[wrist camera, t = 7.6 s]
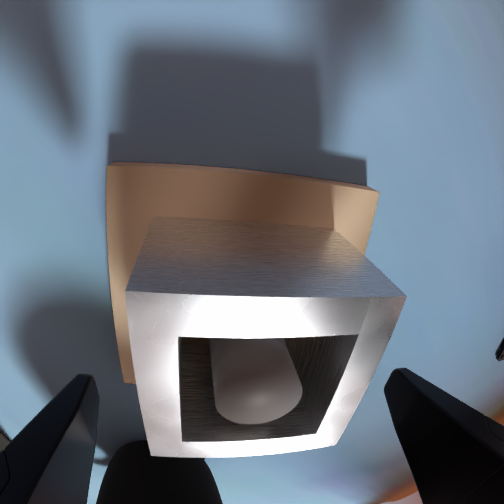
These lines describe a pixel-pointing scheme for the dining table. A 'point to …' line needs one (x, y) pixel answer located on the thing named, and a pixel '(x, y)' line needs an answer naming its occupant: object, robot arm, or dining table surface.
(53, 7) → the dining table surface
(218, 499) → the mug
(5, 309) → the dining table surface
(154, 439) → the collar
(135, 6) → the dining table surface
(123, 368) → the shaft block
